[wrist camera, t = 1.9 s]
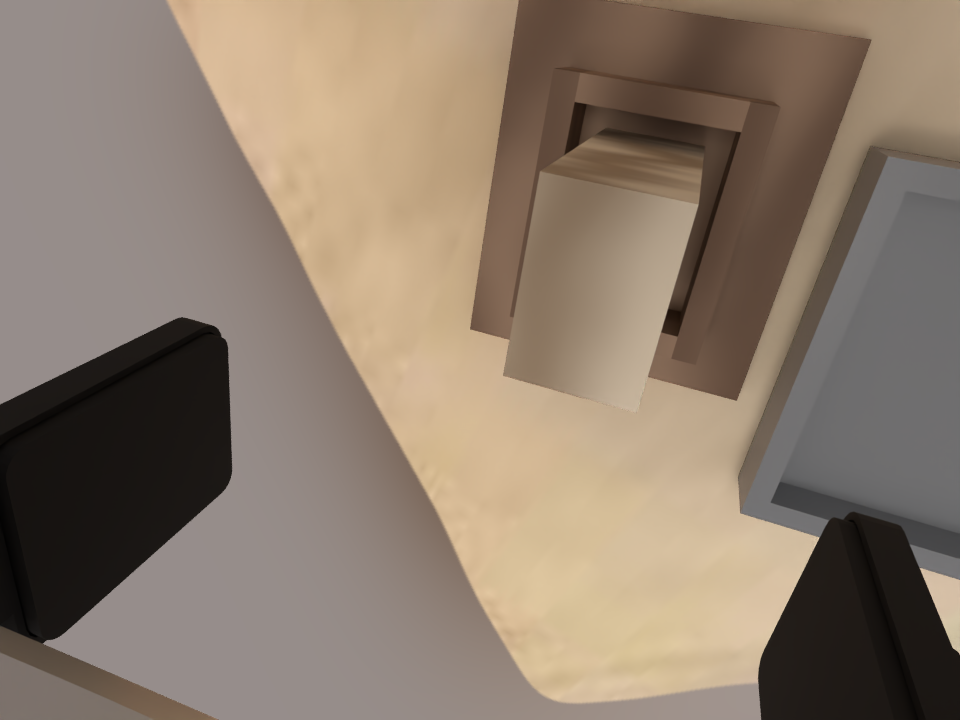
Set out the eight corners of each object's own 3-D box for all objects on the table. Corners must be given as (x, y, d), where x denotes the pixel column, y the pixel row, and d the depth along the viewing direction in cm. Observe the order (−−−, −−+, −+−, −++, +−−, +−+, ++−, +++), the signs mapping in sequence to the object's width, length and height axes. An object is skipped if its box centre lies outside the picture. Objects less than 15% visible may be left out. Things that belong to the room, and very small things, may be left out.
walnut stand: (865, 40, 24) (891, 37, 21) (736, 391, 31) (738, 432, 28) (527, -10, 27) (499, -20, 24) (476, 322, 34) (449, 352, 30)
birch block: (704, 146, 26) (698, 204, 16) (664, 285, 29) (636, 413, 19) (606, 127, 27) (539, 171, 17) (576, 264, 30) (503, 375, 20)
